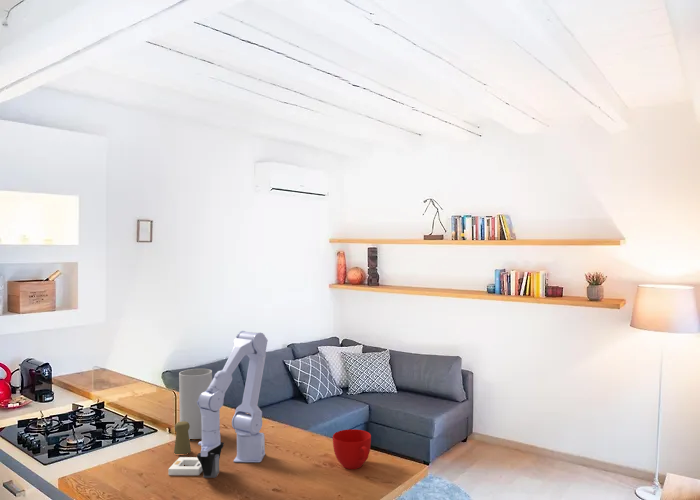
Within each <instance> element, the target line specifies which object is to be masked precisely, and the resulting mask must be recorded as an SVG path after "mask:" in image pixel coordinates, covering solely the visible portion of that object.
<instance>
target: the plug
mask: <svg viewBox="0 0 700 500" xmlns="http://www.w3.org/2000/svg"><path fill="white" fill-rule="evenodd" d="M211 454H214V453H211ZM219 474H220V459H219V454H216V455H215V458H214V461H213V466H212V473H211V476H204V473H203V472H202V475H203V477H202V478H203V479H204V478H206V479H207V478H209V479H210V478H212V479H214V478H217V477H218V475H219Z"/></svg>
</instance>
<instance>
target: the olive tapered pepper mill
mask: <svg viewBox="0 0 700 500" xmlns="http://www.w3.org/2000/svg"><path fill="white" fill-rule="evenodd" d="M189 428H190V425H189V423H188V422H186V421H181V422H180V421H178V422H176V423H175V424H174V432H175V433H176V434H175V442H174V447H173V448H174V449H173V454H174V453H175V454H187V453H189V454H191V453H192V447H191V440H189V433H188V430H189ZM190 452H191V453H190ZM187 455H188V454H187Z"/></svg>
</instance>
